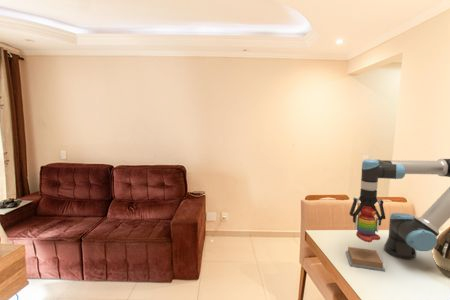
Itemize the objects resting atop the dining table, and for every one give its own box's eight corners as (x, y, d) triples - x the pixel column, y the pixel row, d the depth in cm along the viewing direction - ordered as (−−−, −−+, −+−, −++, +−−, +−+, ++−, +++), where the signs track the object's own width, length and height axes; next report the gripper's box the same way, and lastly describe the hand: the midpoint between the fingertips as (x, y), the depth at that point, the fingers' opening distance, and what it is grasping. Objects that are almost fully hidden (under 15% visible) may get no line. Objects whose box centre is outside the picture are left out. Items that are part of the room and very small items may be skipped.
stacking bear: (368, 243, 125) (370, 209, 123) (350, 235, 135) (352, 203, 133) (382, 239, 130) (384, 206, 128) (364, 231, 139) (366, 201, 137)
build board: (377, 257, 138) (377, 250, 138) (384, 271, 125) (385, 264, 124) (345, 252, 143) (346, 246, 142) (350, 266, 130) (350, 258, 129)
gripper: (390, 188, 130) (387, 229, 132) (344, 185, 136) (342, 224, 139) (395, 192, 122) (392, 235, 125) (346, 189, 129) (344, 229, 132)
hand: (366, 229), depth 132 cm, fingers closed on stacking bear, 9 cm apart
